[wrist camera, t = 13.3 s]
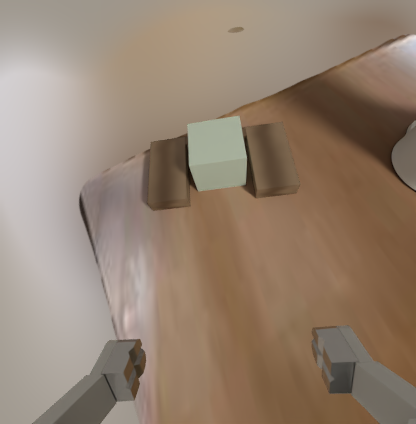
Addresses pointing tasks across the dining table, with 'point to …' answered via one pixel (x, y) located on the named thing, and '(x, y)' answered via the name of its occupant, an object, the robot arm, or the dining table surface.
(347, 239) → the dining table surface
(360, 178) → the dining table surface
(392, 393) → the robot arm
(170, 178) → the dock block
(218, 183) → the sage block
